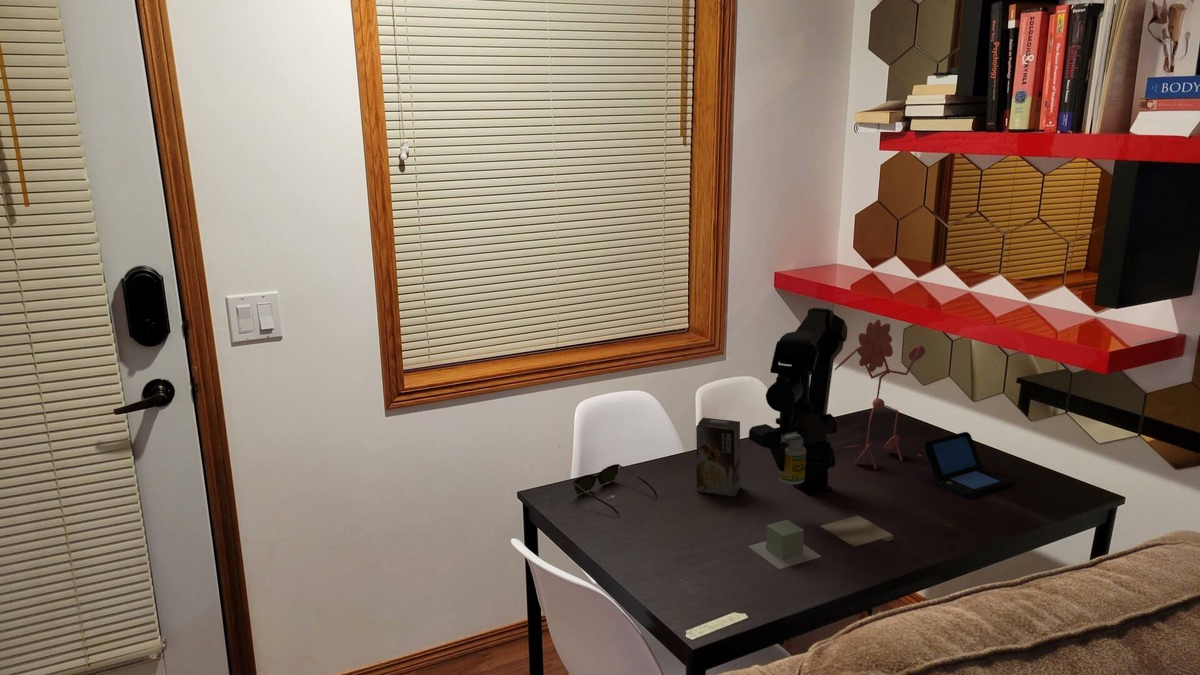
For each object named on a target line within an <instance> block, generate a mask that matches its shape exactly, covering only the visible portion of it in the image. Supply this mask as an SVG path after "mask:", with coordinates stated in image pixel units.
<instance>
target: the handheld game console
mask: <svg viewBox="0 0 1200 675" xmlns="http://www.w3.org/2000/svg"><path fill="white" fill-rule="evenodd" d="M923 449H924V452H925V456H926V457H927V460H928V462H929V465H930V467H931V468H930V469H931V471H932V475H933V477H934V482H933V484H934V485H935V486H939V487H941V489H942V488H943V489H945V490H947V491H949V492H951V493H953V494H956V495H957V496H960V497H963V498H966V499H970V498H974V497H978V496H981V495H984V494H986V493H989V492H993V491H996V490H997V491H998V490H1000V489H1003V488H1006V487H1009V486H1011V485H1012V482H1013V480H1012V479H1011V478H1009V477H1006V476H1003V475H1001V474H999V473H996V472H994V471H991V470H989V469H986V468H985V467H984V465H983V464H982V461H981V459H980V456H979V455H978V453H977V448H976V445H975V443H974V440H973V437H972V435H971V433H969V432H967V431H964V432H963V431H962V432H959V433H955V434H952V435H948V436H944V437H940V438H935V439H932V440H928V441H925V442H924V444H923Z"/></svg>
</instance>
